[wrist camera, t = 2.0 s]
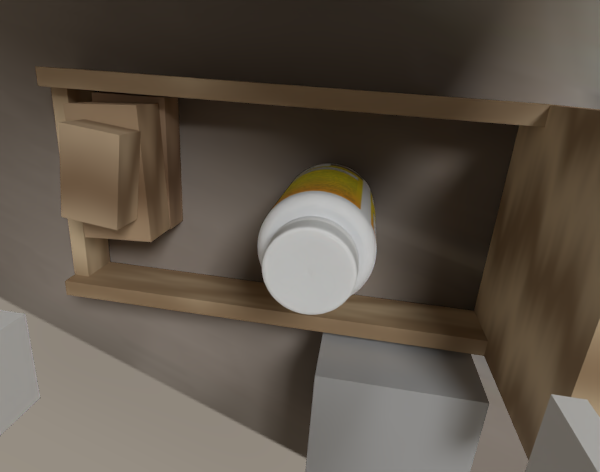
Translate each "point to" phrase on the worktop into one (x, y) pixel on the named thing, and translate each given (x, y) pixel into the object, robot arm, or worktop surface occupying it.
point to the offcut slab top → (151, 166)
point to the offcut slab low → (169, 142)
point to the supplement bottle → (319, 240)
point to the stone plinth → (393, 408)
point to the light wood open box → (406, 315)
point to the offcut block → (99, 173)
